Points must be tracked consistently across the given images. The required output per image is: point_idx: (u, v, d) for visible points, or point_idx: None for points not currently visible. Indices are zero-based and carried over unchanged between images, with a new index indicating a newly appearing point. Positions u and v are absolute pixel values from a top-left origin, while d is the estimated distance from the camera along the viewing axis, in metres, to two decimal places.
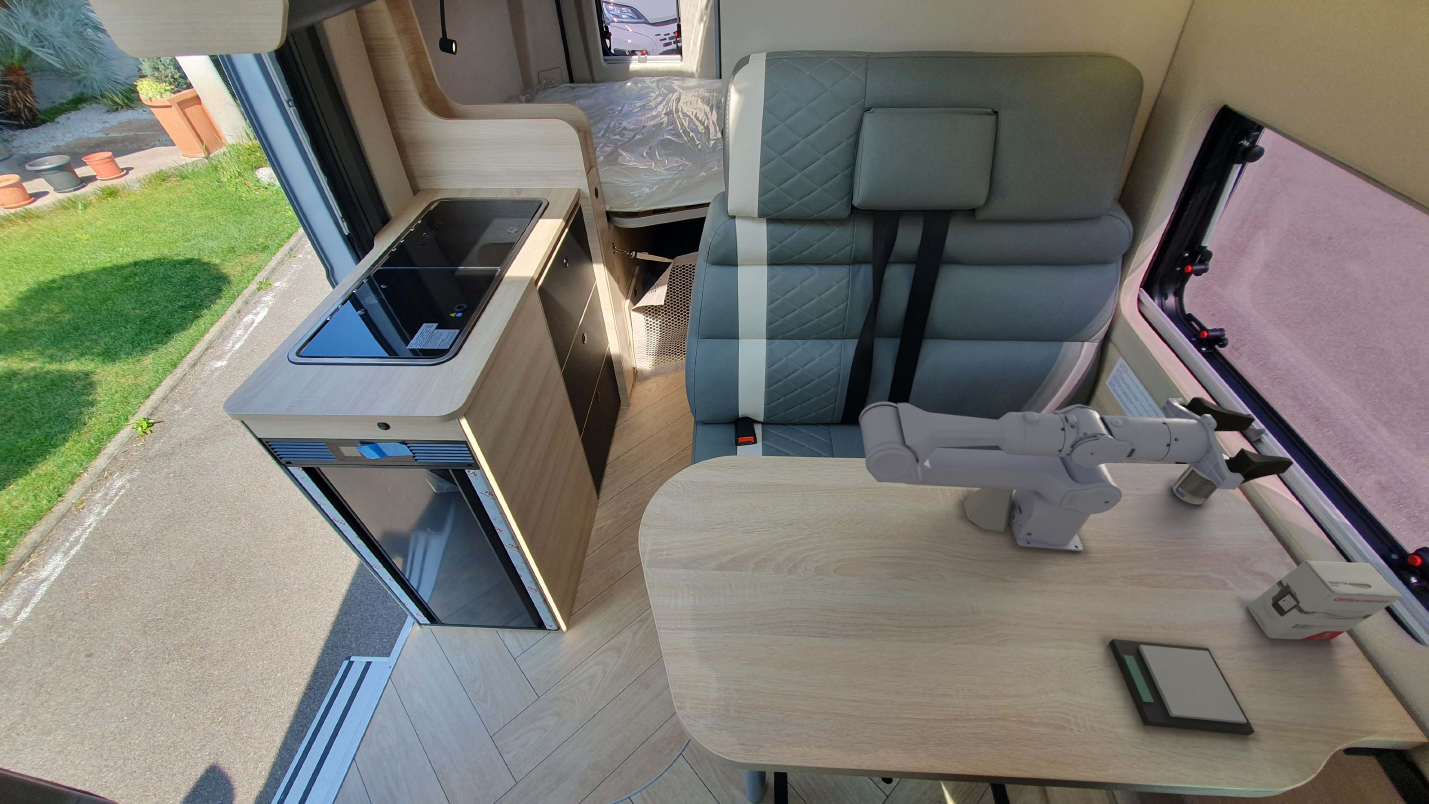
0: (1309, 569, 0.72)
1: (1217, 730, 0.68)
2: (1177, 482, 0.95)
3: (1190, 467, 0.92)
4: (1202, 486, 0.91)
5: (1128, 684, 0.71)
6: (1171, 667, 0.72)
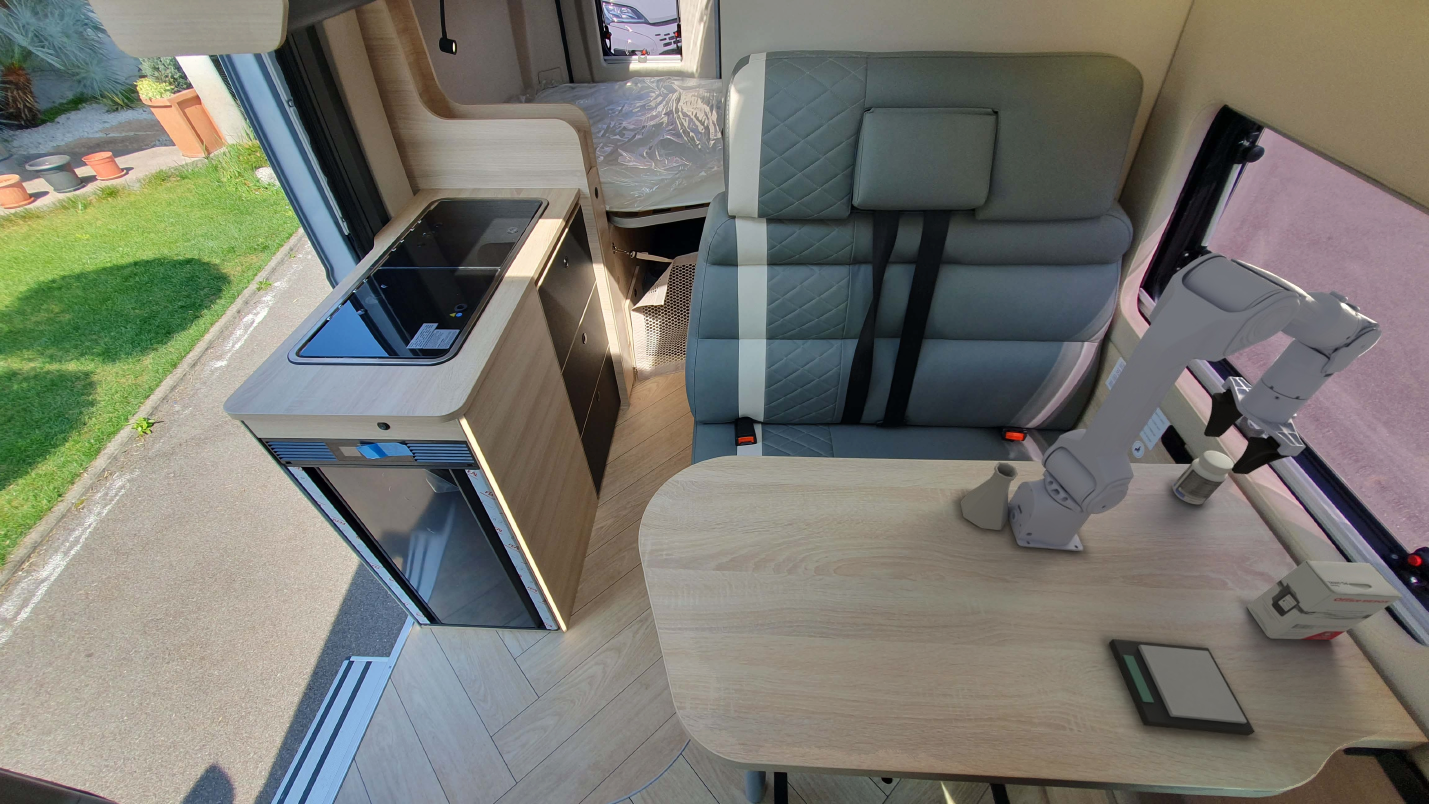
0: (1309, 569, 0.72)
1: (1217, 730, 0.68)
2: (1177, 482, 0.95)
3: (1190, 467, 0.92)
4: (1202, 486, 0.91)
5: (1128, 684, 0.71)
6: (1171, 667, 0.72)
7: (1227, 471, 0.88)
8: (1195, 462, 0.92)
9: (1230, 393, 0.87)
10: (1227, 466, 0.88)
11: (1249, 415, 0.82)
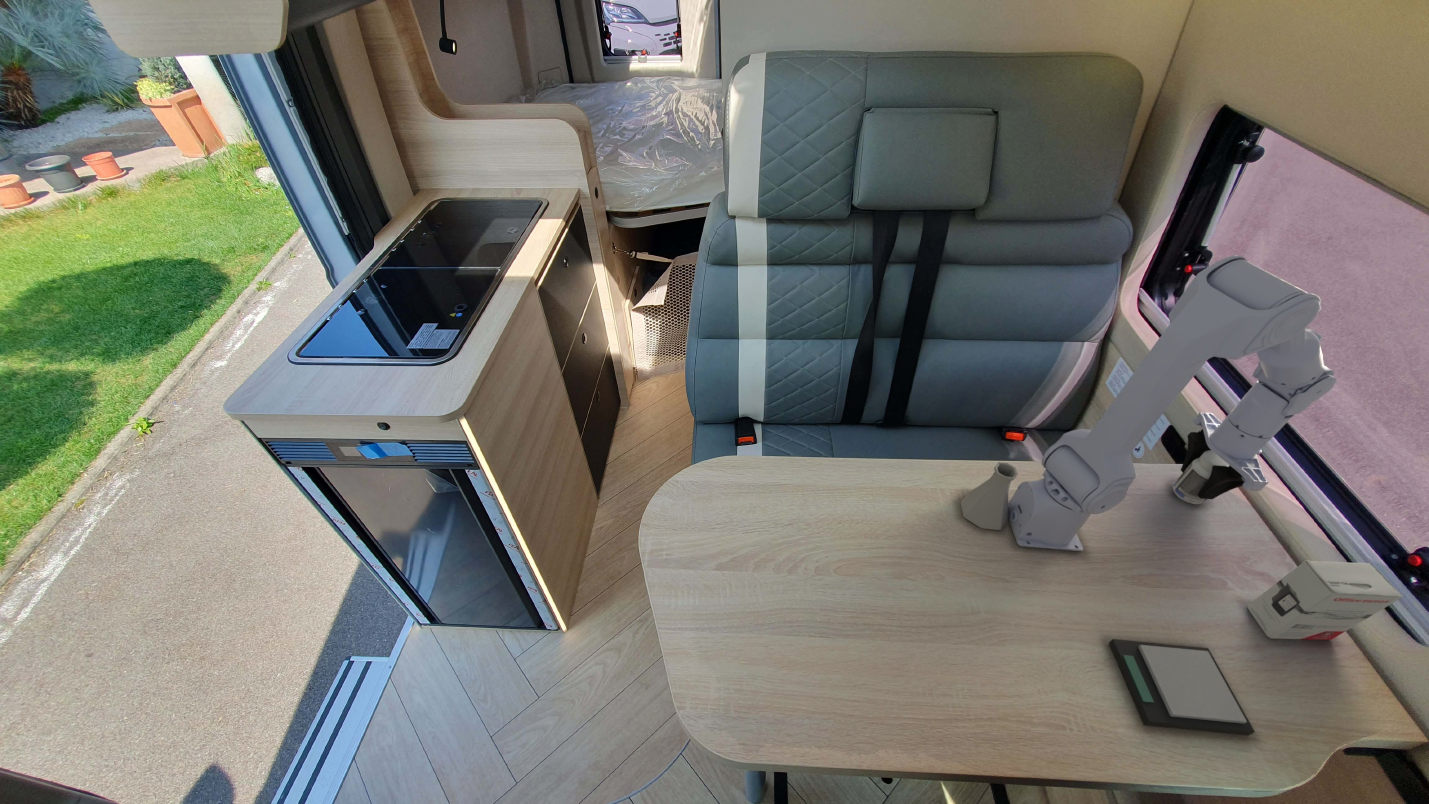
0: (1309, 569, 0.72)
1: (1217, 730, 0.68)
2: (1177, 482, 0.95)
3: (1190, 467, 0.92)
4: (1202, 485, 0.91)
5: (1128, 684, 0.71)
6: (1171, 667, 0.72)
7: None
8: (1195, 462, 0.92)
9: None
10: (1227, 466, 0.88)
11: (1217, 451, 0.86)
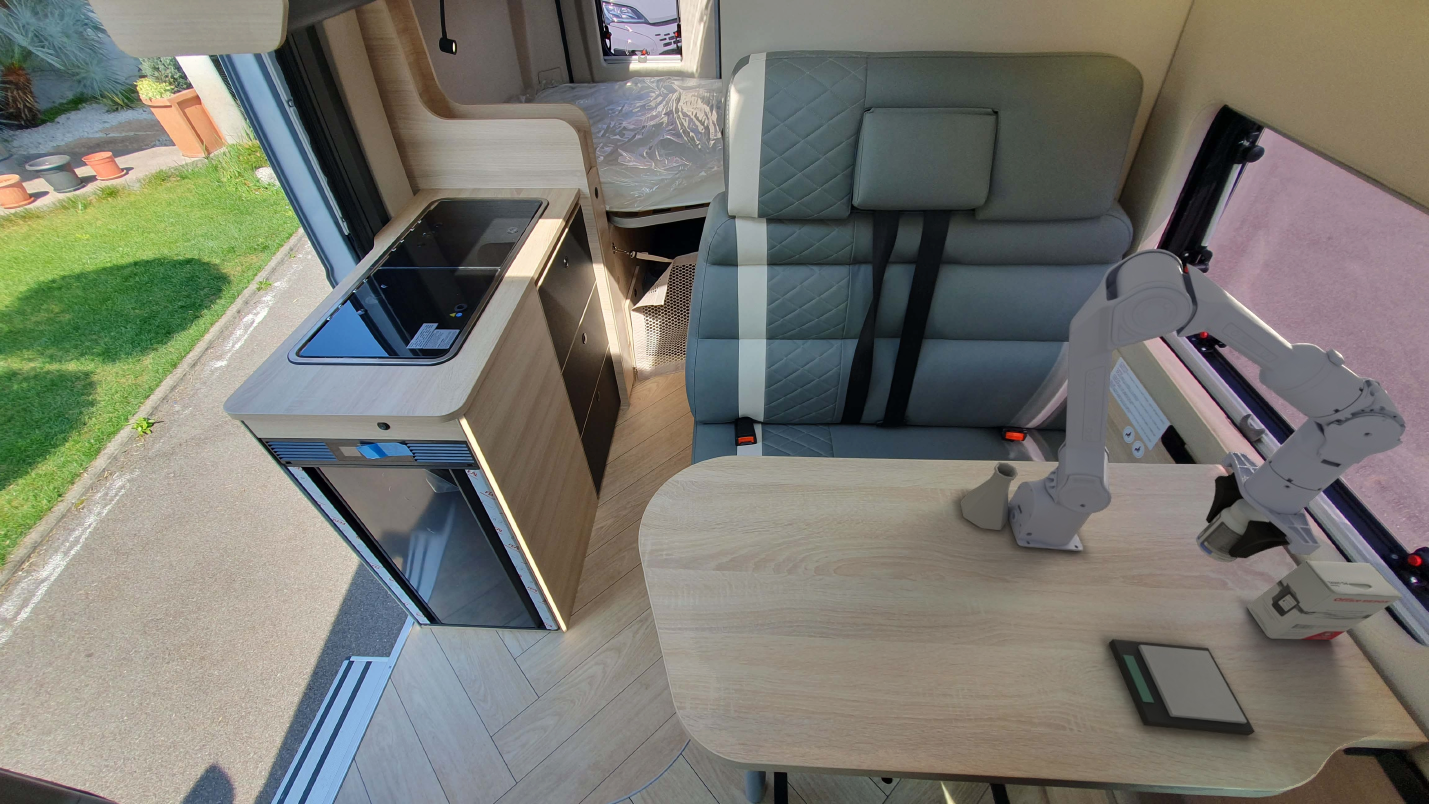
0: (1309, 569, 0.72)
1: (1217, 730, 0.68)
2: (1202, 535, 0.78)
3: (1219, 518, 0.76)
4: (1234, 542, 0.74)
5: (1128, 684, 0.71)
6: (1171, 667, 0.72)
7: None
8: (1225, 512, 0.75)
9: None
10: (1266, 520, 0.72)
11: (1254, 503, 0.70)
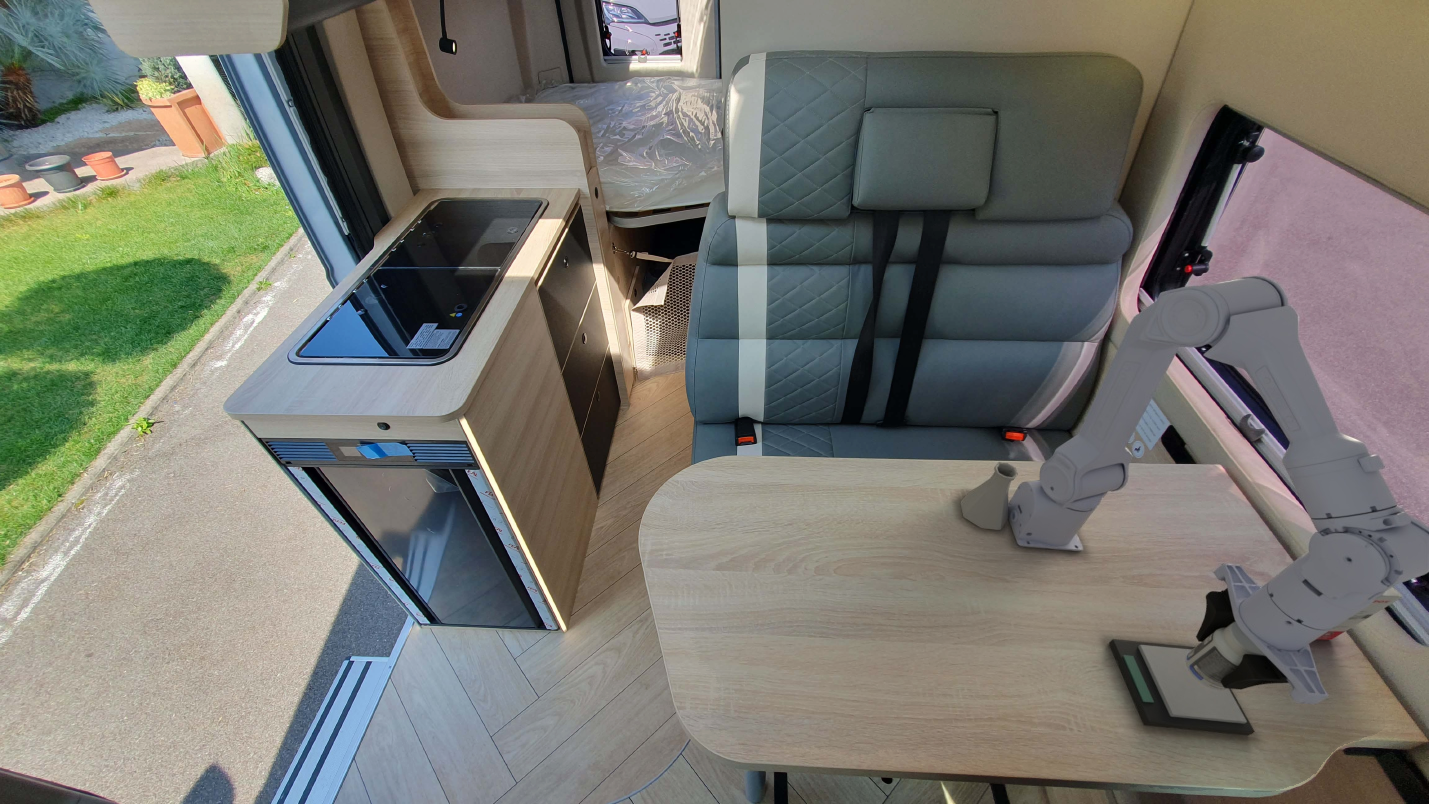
0: None
1: (1217, 730, 0.68)
2: (1192, 656, 0.68)
3: (1211, 641, 0.66)
4: (1228, 671, 0.64)
5: (1128, 684, 0.71)
6: (1171, 667, 0.72)
7: None
8: (1218, 636, 0.65)
9: None
10: None
11: (1250, 634, 0.60)
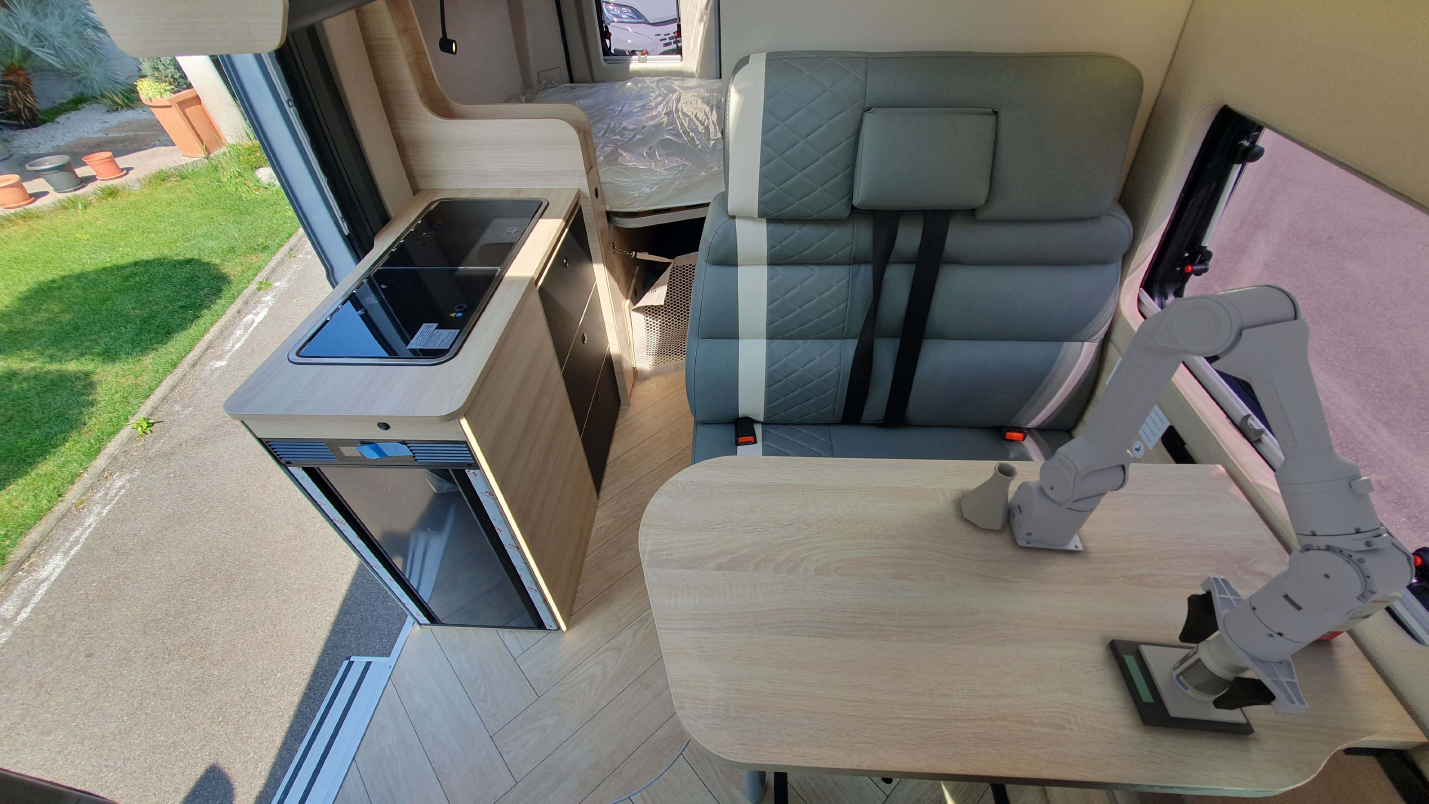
0: None
1: (1217, 730, 0.68)
2: (1178, 667, 0.70)
3: (1196, 653, 0.68)
4: (1212, 682, 0.66)
5: (1128, 684, 0.71)
6: (1171, 667, 0.72)
7: (1247, 669, 0.64)
8: (1202, 648, 0.67)
9: (1211, 598, 0.68)
10: None
11: (1234, 646, 0.62)
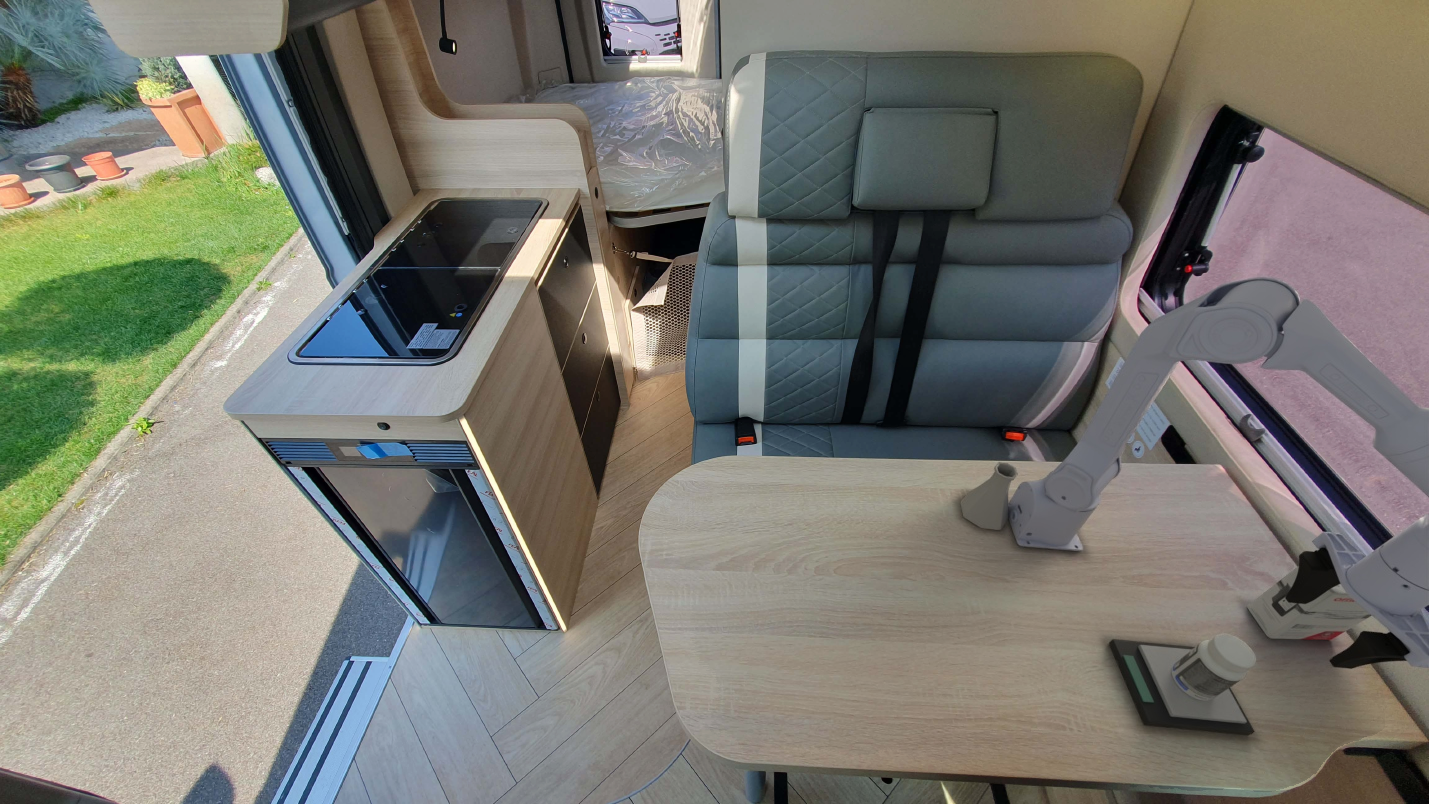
0: None
1: (1217, 730, 0.68)
2: (1178, 667, 0.70)
3: (1196, 653, 0.68)
4: (1212, 682, 0.66)
5: (1128, 684, 0.71)
6: (1171, 667, 0.72)
7: (1247, 669, 0.64)
8: (1202, 648, 0.67)
9: (1326, 555, 0.65)
10: (1247, 663, 0.64)
11: (1361, 600, 0.60)
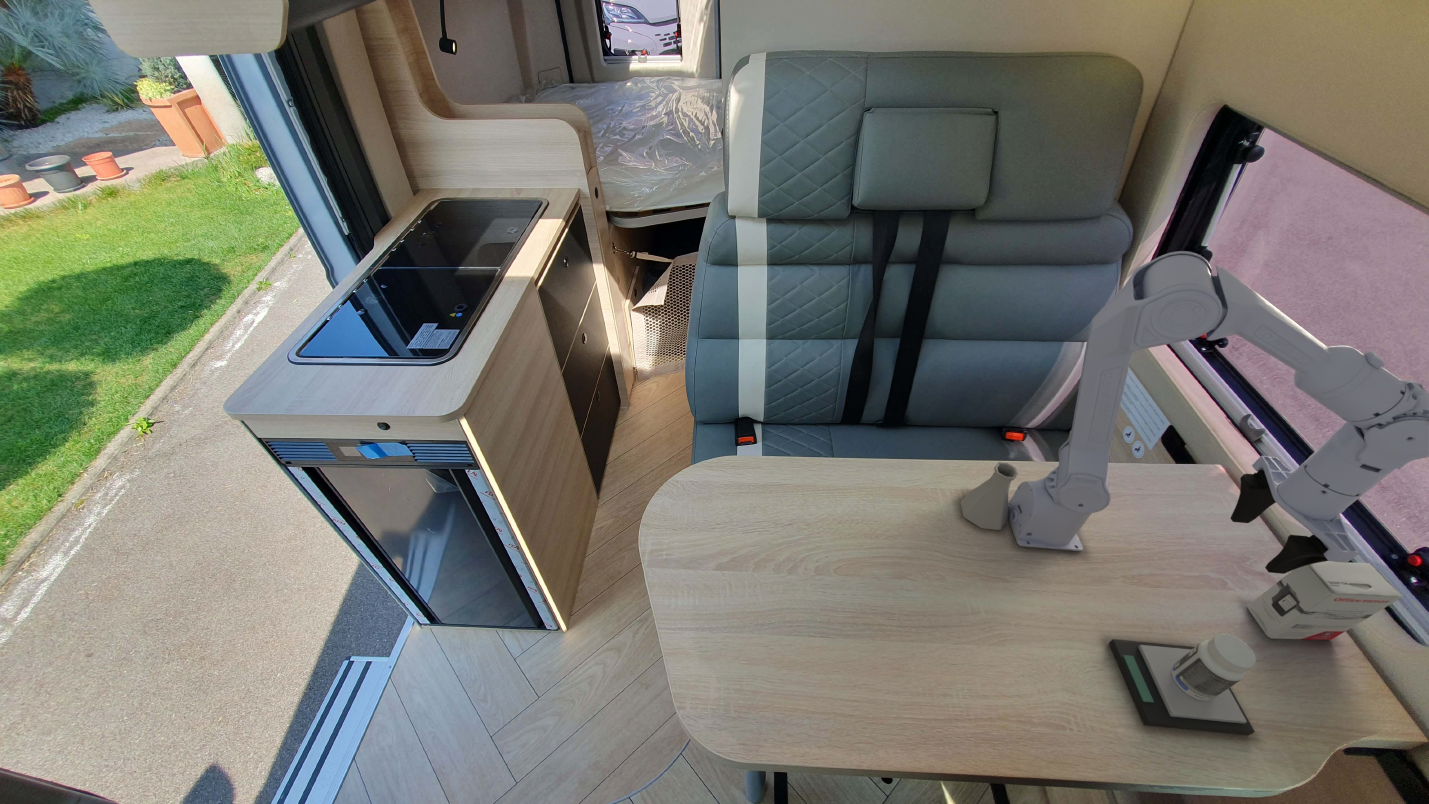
0: (1309, 569, 0.72)
1: (1217, 730, 0.68)
2: (1178, 667, 0.70)
3: (1196, 653, 0.68)
4: (1212, 682, 0.66)
5: (1128, 684, 0.71)
6: (1171, 667, 0.72)
7: (1247, 669, 0.64)
8: (1202, 648, 0.67)
9: (1263, 475, 0.74)
10: (1247, 663, 0.64)
11: (1288, 508, 0.68)
